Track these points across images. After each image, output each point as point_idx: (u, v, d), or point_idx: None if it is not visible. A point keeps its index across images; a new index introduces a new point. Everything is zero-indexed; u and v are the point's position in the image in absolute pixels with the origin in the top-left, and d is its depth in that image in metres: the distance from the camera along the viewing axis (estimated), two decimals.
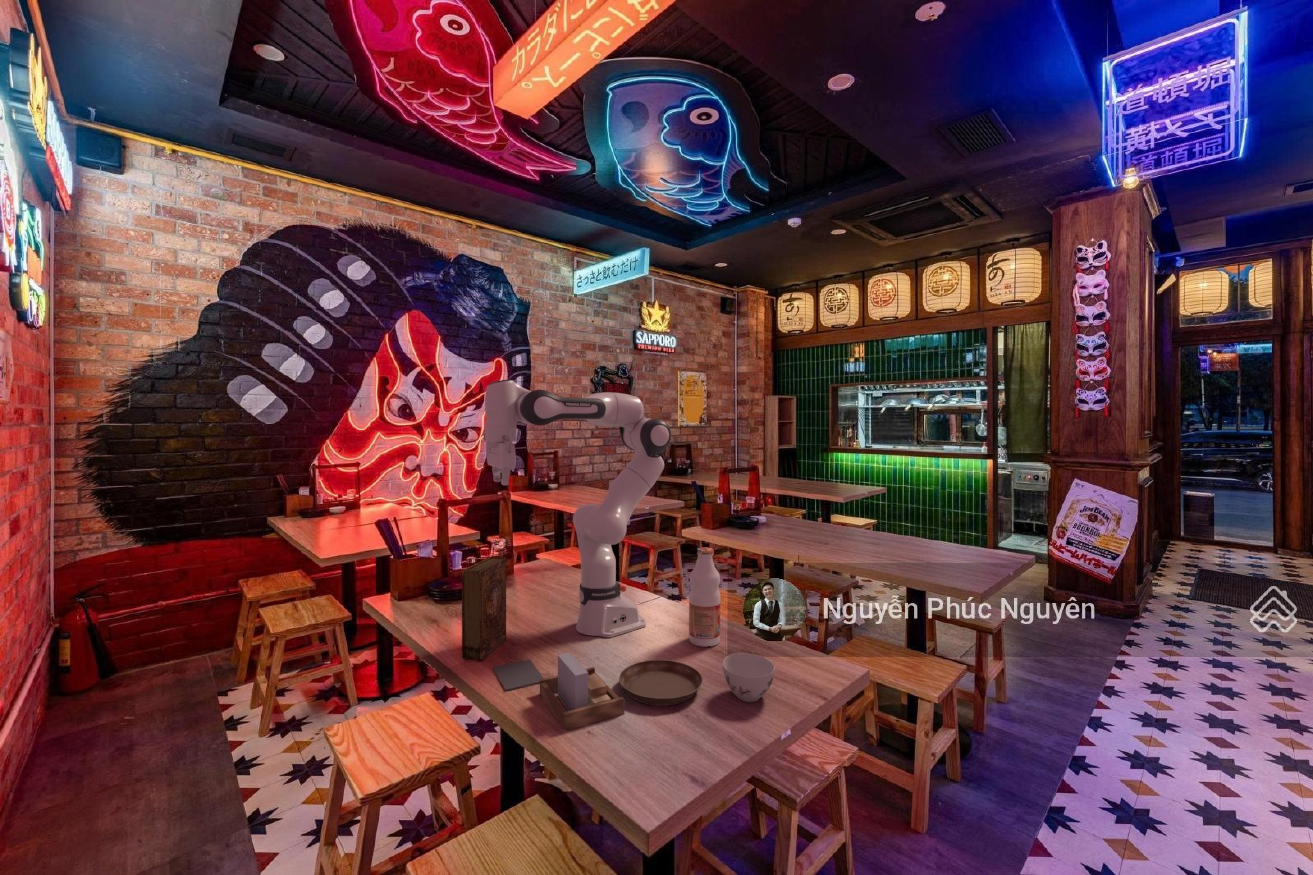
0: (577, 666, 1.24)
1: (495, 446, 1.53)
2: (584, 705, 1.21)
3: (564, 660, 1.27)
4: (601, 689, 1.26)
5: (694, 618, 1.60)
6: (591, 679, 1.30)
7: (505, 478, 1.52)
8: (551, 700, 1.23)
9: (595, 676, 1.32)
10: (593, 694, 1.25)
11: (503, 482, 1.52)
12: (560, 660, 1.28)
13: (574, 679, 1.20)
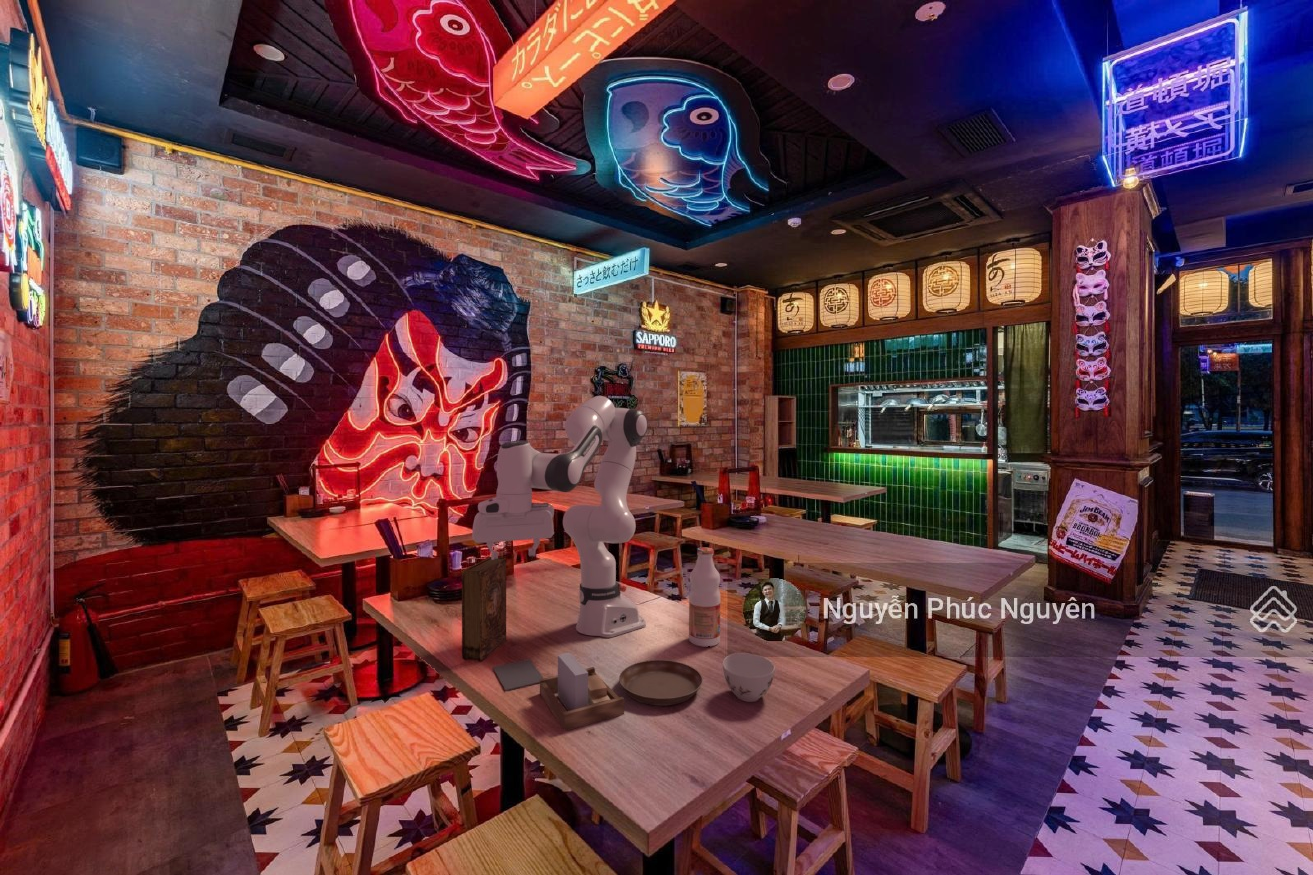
0: (577, 666, 1.24)
1: (524, 516, 1.38)
2: (584, 705, 1.21)
3: (564, 660, 1.27)
4: (601, 690, 1.26)
5: (694, 618, 1.60)
6: (593, 680, 1.29)
7: None
8: (551, 700, 1.23)
9: (597, 677, 1.31)
10: (593, 695, 1.25)
11: None
12: (560, 660, 1.28)
13: (574, 679, 1.20)
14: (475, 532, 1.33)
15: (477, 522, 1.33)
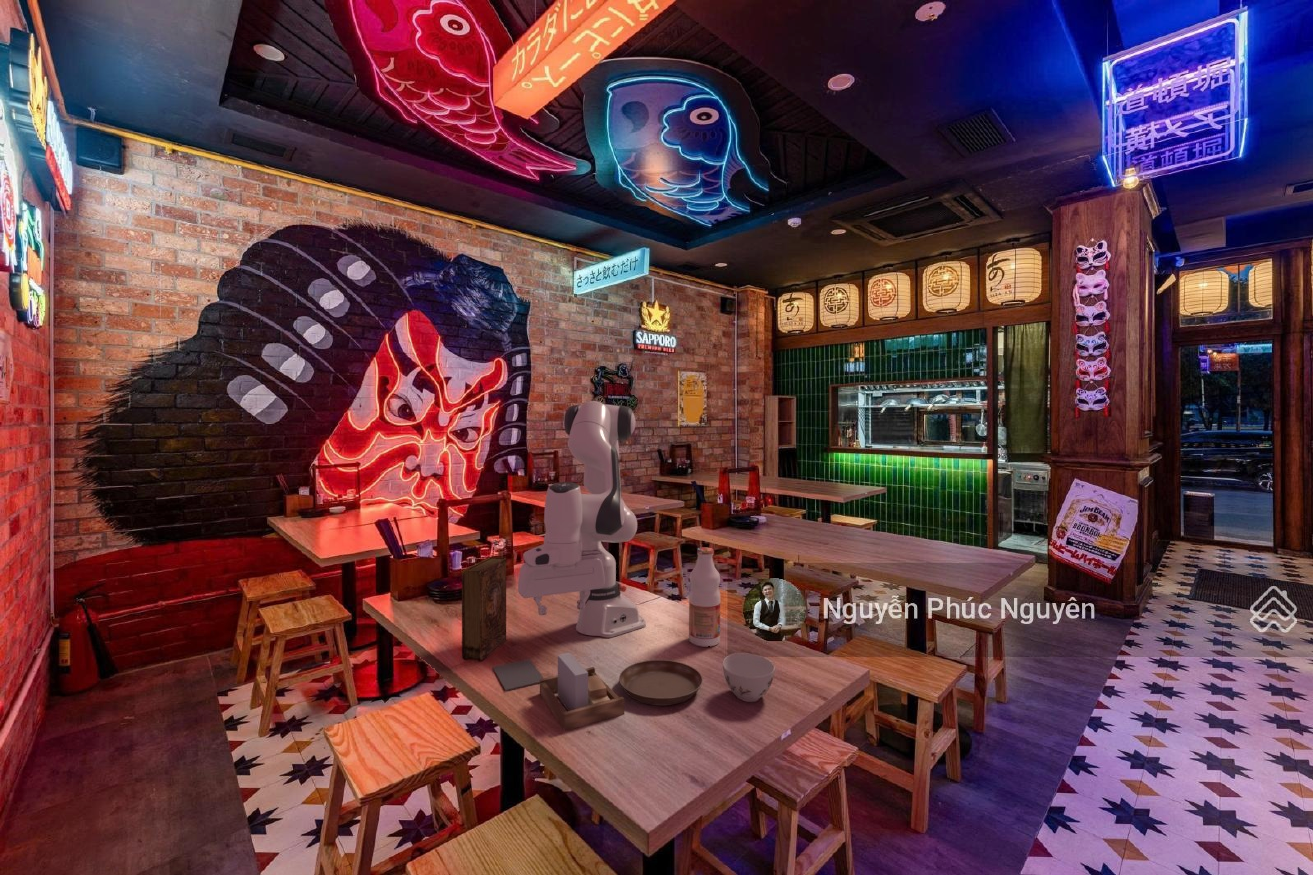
0: (577, 666, 1.24)
1: (575, 566, 1.26)
2: (584, 705, 1.21)
3: (564, 660, 1.27)
4: (601, 691, 1.25)
5: (694, 618, 1.60)
6: (593, 681, 1.29)
7: None
8: (551, 700, 1.23)
9: (597, 677, 1.31)
10: (592, 696, 1.25)
11: None
12: (560, 660, 1.28)
13: (574, 679, 1.20)
14: (523, 586, 1.20)
15: (526, 575, 1.20)
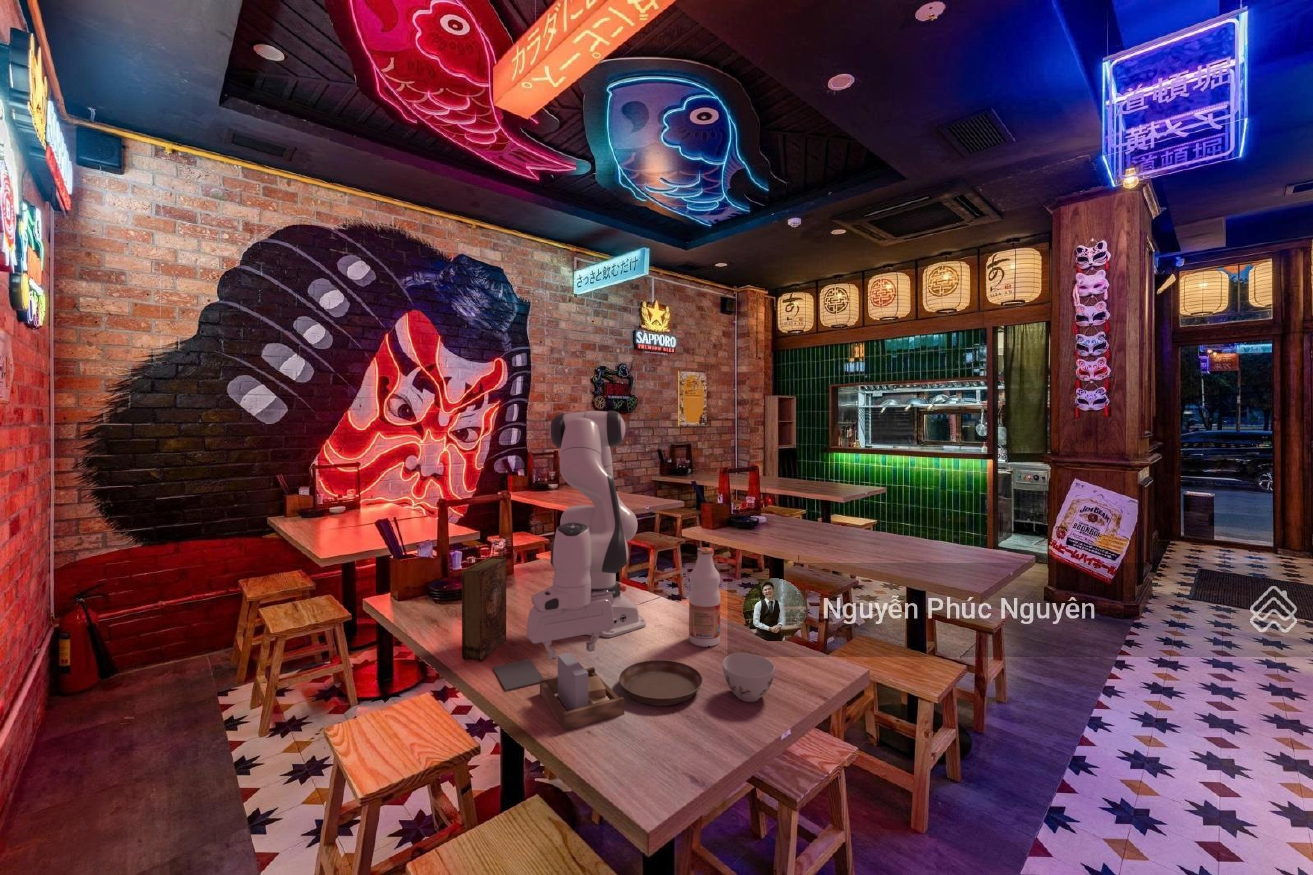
0: (577, 666, 1.24)
1: (584, 608, 1.24)
2: (584, 705, 1.21)
3: (564, 660, 1.27)
4: (600, 691, 1.25)
5: (694, 618, 1.60)
6: (592, 681, 1.29)
7: None
8: (551, 700, 1.23)
9: (597, 678, 1.31)
10: (591, 696, 1.24)
11: None
12: (560, 660, 1.28)
13: (574, 679, 1.20)
14: (533, 632, 1.18)
15: (535, 621, 1.18)
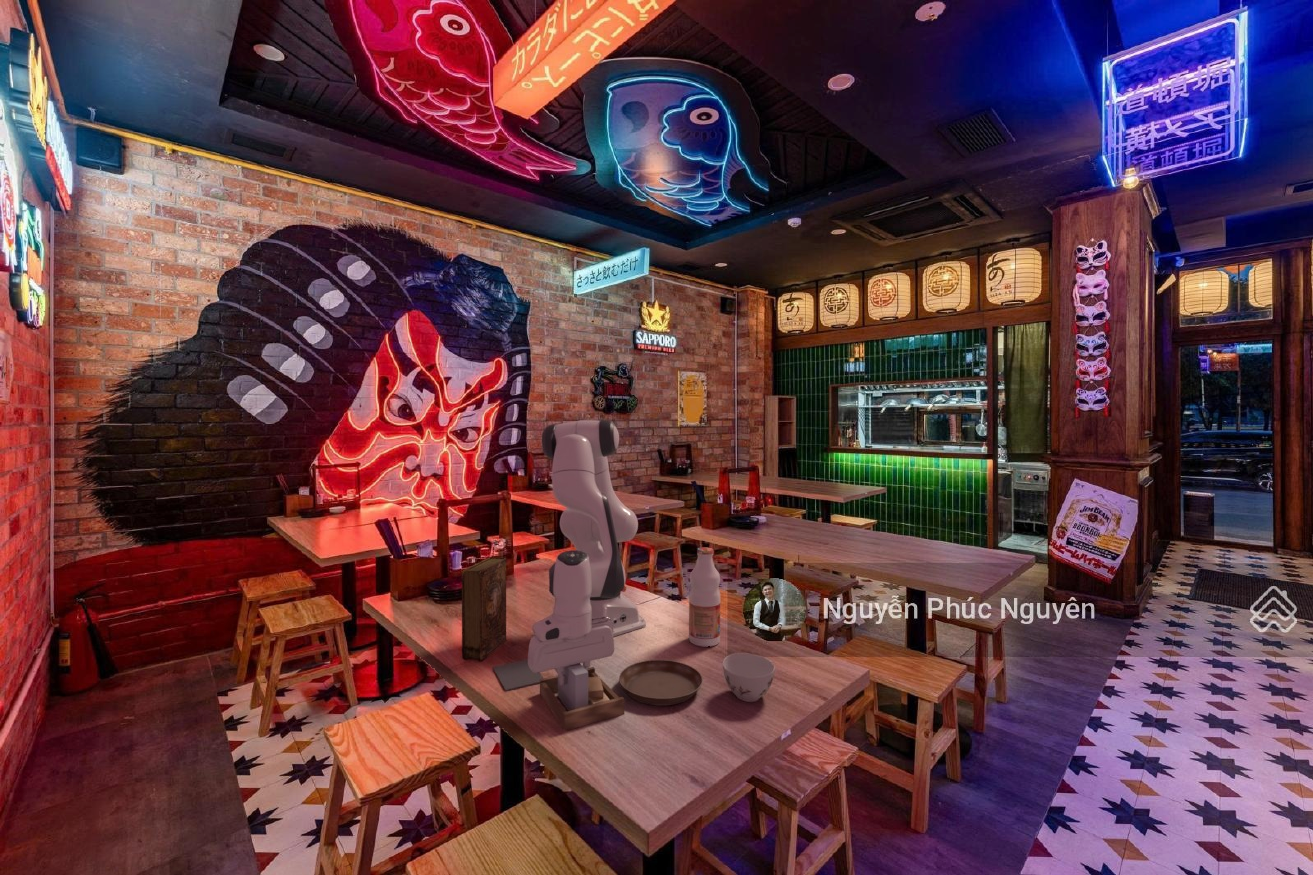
0: (577, 665, 1.24)
1: (585, 636, 1.24)
2: (584, 705, 1.21)
3: None
4: (598, 692, 1.25)
5: (694, 618, 1.60)
6: (592, 682, 1.29)
7: None
8: (551, 700, 1.23)
9: (597, 678, 1.30)
10: (589, 697, 1.24)
11: None
12: None
13: (574, 679, 1.20)
14: (534, 662, 1.19)
15: (536, 651, 1.19)
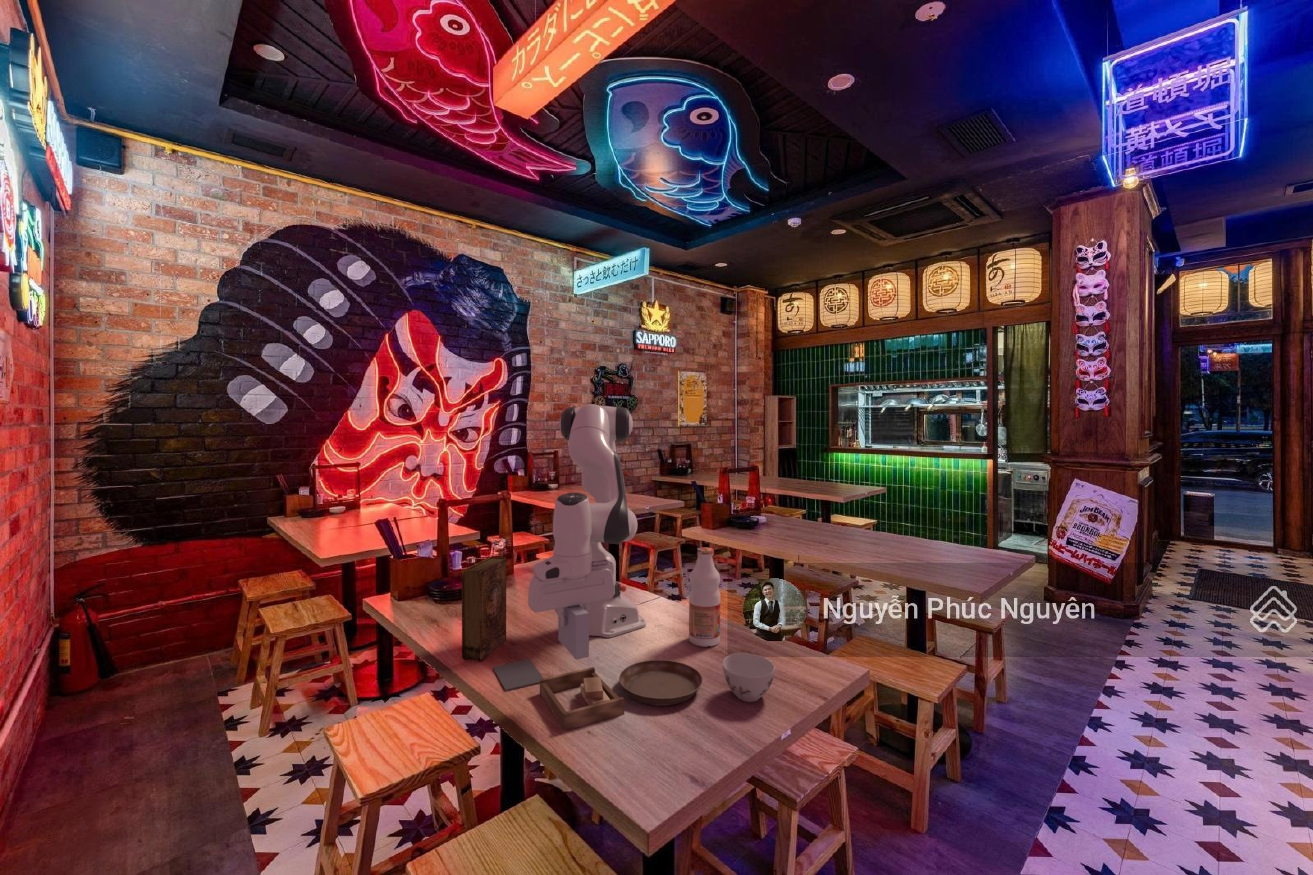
0: (578, 607, 1.24)
1: (585, 578, 1.24)
2: (585, 645, 1.20)
3: None
4: (597, 693, 1.24)
5: (694, 618, 1.60)
6: (592, 682, 1.28)
7: None
8: (551, 700, 1.23)
9: (598, 679, 1.30)
10: (588, 697, 1.24)
11: None
12: None
13: (574, 619, 1.20)
14: (534, 601, 1.18)
15: (536, 590, 1.18)
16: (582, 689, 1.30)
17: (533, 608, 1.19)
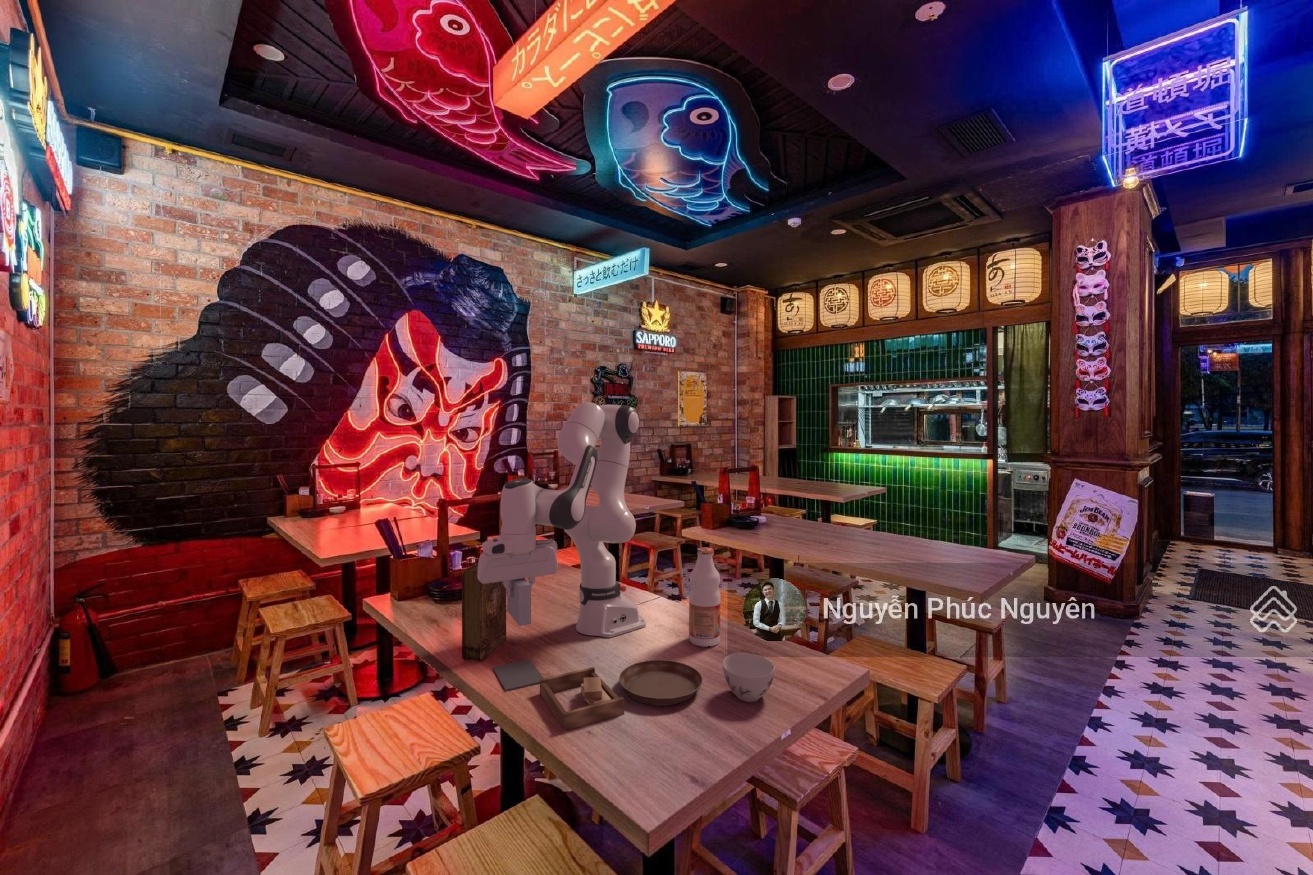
0: (523, 580, 1.38)
1: (529, 554, 1.39)
2: (527, 613, 1.35)
3: None
4: (596, 693, 1.24)
5: (694, 618, 1.60)
6: (592, 682, 1.28)
7: None
8: (551, 700, 1.23)
9: (598, 679, 1.30)
10: (587, 697, 1.24)
11: None
12: None
13: (518, 590, 1.34)
14: (481, 573, 1.33)
15: (483, 563, 1.33)
16: (582, 689, 1.30)
17: (481, 580, 1.33)
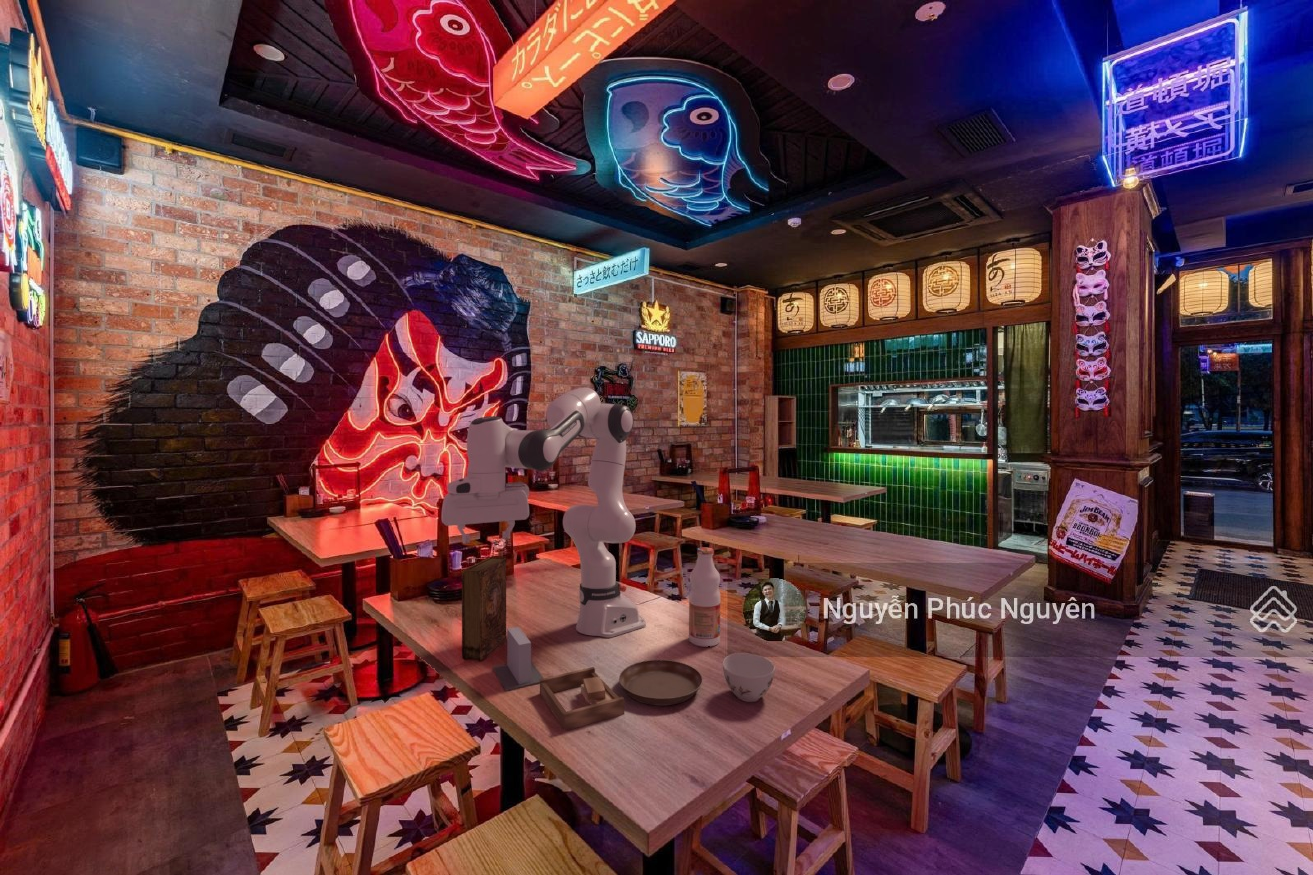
0: (523, 637, 1.39)
1: (498, 496, 1.30)
2: (527, 671, 1.36)
3: (512, 633, 1.42)
4: (600, 693, 1.24)
5: (694, 618, 1.60)
6: (593, 682, 1.28)
7: None
8: (551, 700, 1.23)
9: (598, 679, 1.30)
10: (591, 698, 1.24)
11: None
12: (509, 632, 1.43)
13: (518, 648, 1.35)
14: (445, 514, 1.24)
15: (447, 503, 1.24)
16: (583, 690, 1.30)
17: (444, 521, 1.24)
